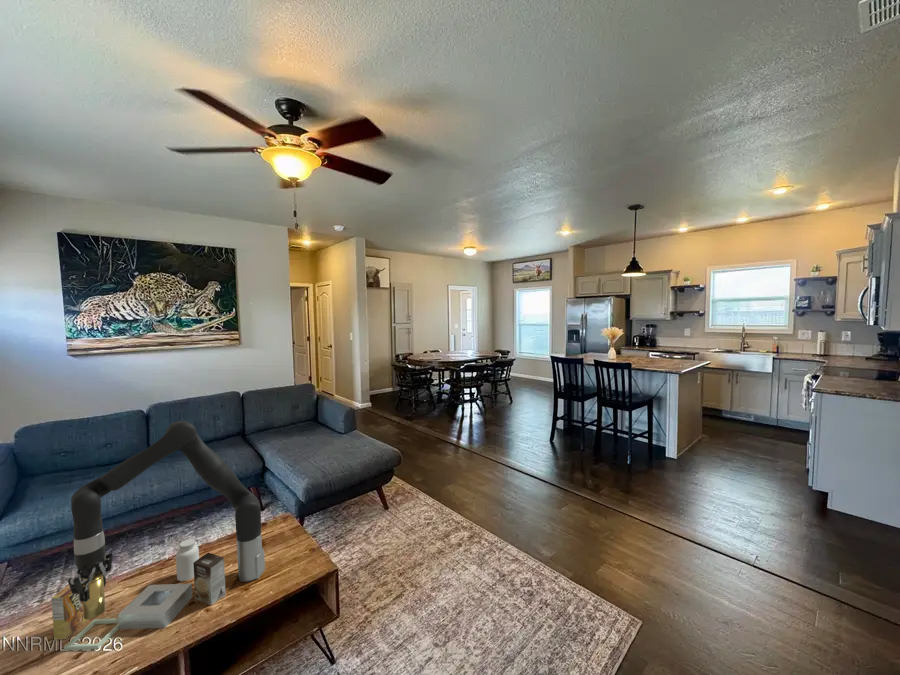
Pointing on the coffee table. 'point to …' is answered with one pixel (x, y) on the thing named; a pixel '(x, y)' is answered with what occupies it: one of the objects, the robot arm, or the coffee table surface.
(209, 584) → the coffee box
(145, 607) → the housing
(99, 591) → the gold shiny round cylinder
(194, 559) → the pill bottle
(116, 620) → the tray
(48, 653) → the coffee table surface
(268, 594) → the coffee table surface
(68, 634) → the candy box
